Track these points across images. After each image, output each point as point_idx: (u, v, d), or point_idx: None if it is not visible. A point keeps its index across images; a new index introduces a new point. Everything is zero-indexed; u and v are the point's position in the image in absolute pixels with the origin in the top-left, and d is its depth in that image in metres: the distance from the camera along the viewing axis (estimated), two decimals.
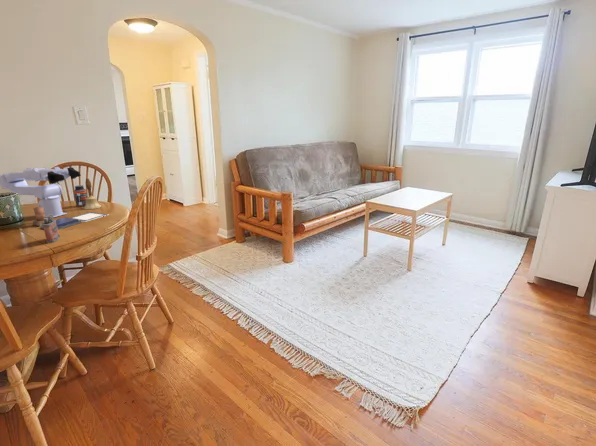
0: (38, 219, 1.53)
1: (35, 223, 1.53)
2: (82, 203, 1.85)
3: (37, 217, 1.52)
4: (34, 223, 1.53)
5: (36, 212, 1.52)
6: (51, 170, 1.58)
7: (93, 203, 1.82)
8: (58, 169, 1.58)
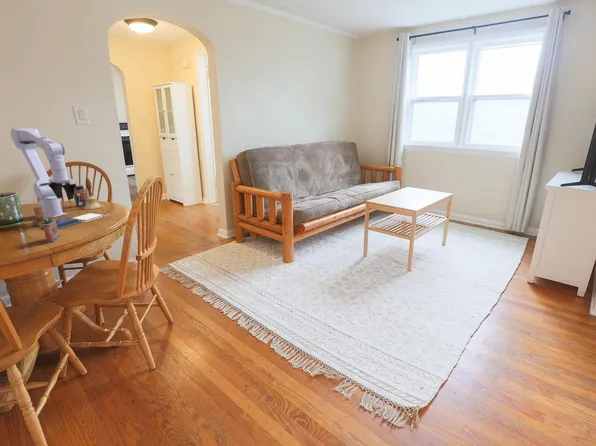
0: (38, 219, 1.53)
1: (35, 223, 1.53)
2: (82, 203, 1.85)
3: (37, 217, 1.52)
4: (34, 223, 1.53)
5: (36, 212, 1.52)
6: None
7: (93, 203, 1.82)
8: (56, 181, 1.54)
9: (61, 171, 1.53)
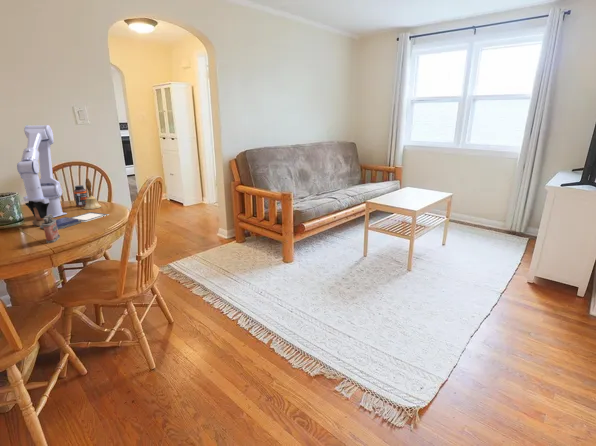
0: (38, 219, 1.53)
1: (35, 223, 1.53)
2: (82, 203, 1.85)
3: (37, 217, 1.52)
4: (34, 223, 1.53)
5: (36, 212, 1.52)
6: None
7: (93, 203, 1.82)
8: (30, 200, 1.49)
9: (35, 190, 1.49)
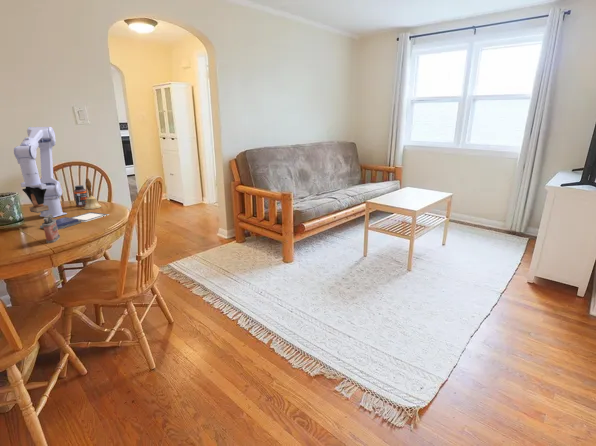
0: (35, 205, 1.51)
1: (32, 209, 1.51)
2: (82, 203, 1.85)
3: (34, 203, 1.50)
4: (31, 210, 1.51)
5: (33, 198, 1.50)
6: None
7: (93, 203, 1.82)
8: None
9: (32, 175, 1.47)
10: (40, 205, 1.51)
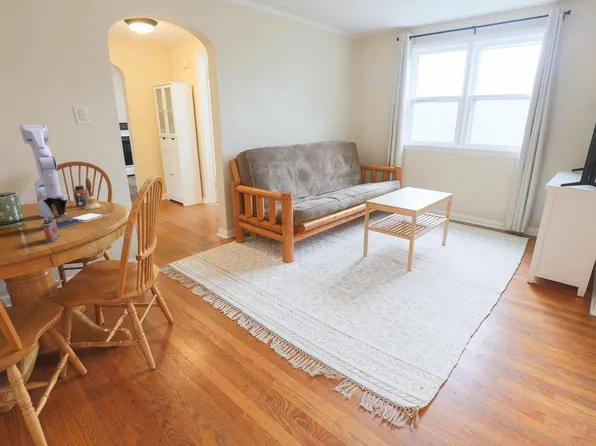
0: (56, 216, 1.50)
1: None
2: (82, 203, 1.85)
3: (55, 214, 1.50)
4: None
5: (54, 209, 1.49)
6: (45, 191, 1.47)
7: (93, 203, 1.82)
8: (48, 197, 1.47)
9: (54, 186, 1.46)
10: (60, 215, 1.51)
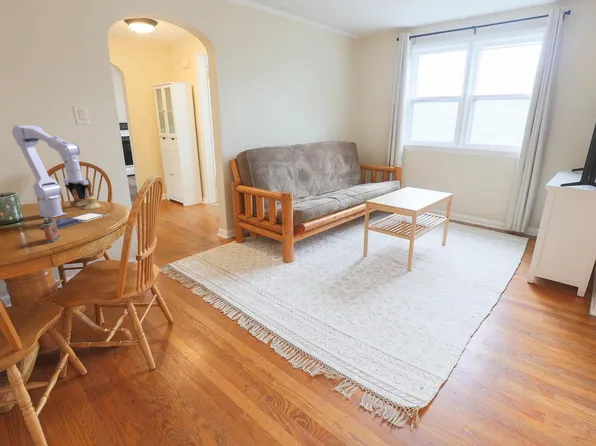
0: (76, 200, 1.59)
1: (73, 204, 1.59)
2: None
3: (75, 198, 1.58)
4: (72, 204, 1.59)
5: (74, 193, 1.58)
6: (67, 176, 1.56)
7: (93, 203, 1.82)
8: (70, 182, 1.56)
9: (75, 172, 1.55)
10: (80, 200, 1.60)
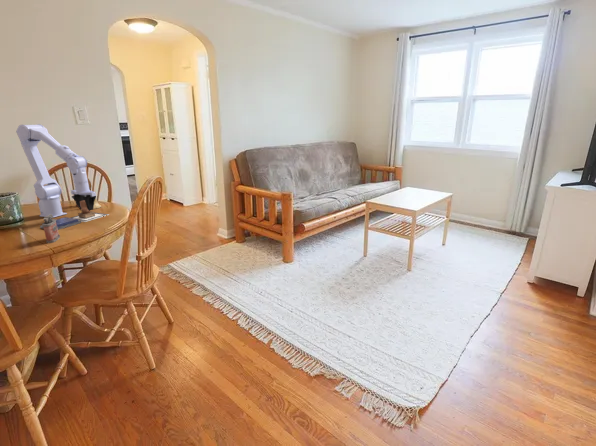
0: (84, 212, 1.63)
1: (81, 215, 1.63)
2: None
3: (83, 210, 1.63)
4: (80, 216, 1.64)
5: (82, 205, 1.62)
6: (75, 188, 1.60)
7: None
8: (78, 193, 1.60)
9: (83, 183, 1.59)
10: (88, 211, 1.64)
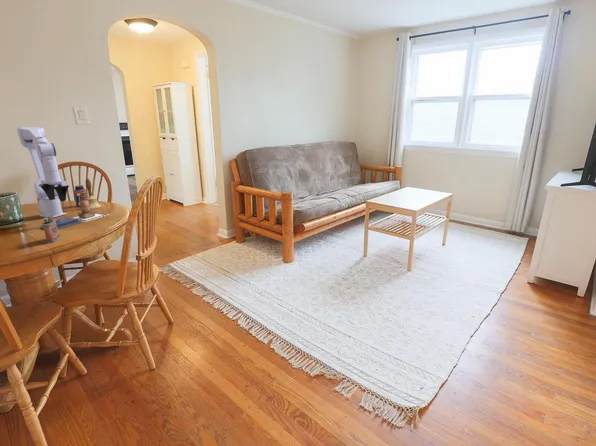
0: (84, 212, 1.63)
1: (81, 215, 1.63)
2: None
3: (83, 210, 1.63)
4: (80, 216, 1.64)
5: (82, 205, 1.62)
6: (44, 177, 1.50)
7: (93, 203, 1.82)
8: None
9: (53, 172, 1.50)
10: (88, 211, 1.64)
